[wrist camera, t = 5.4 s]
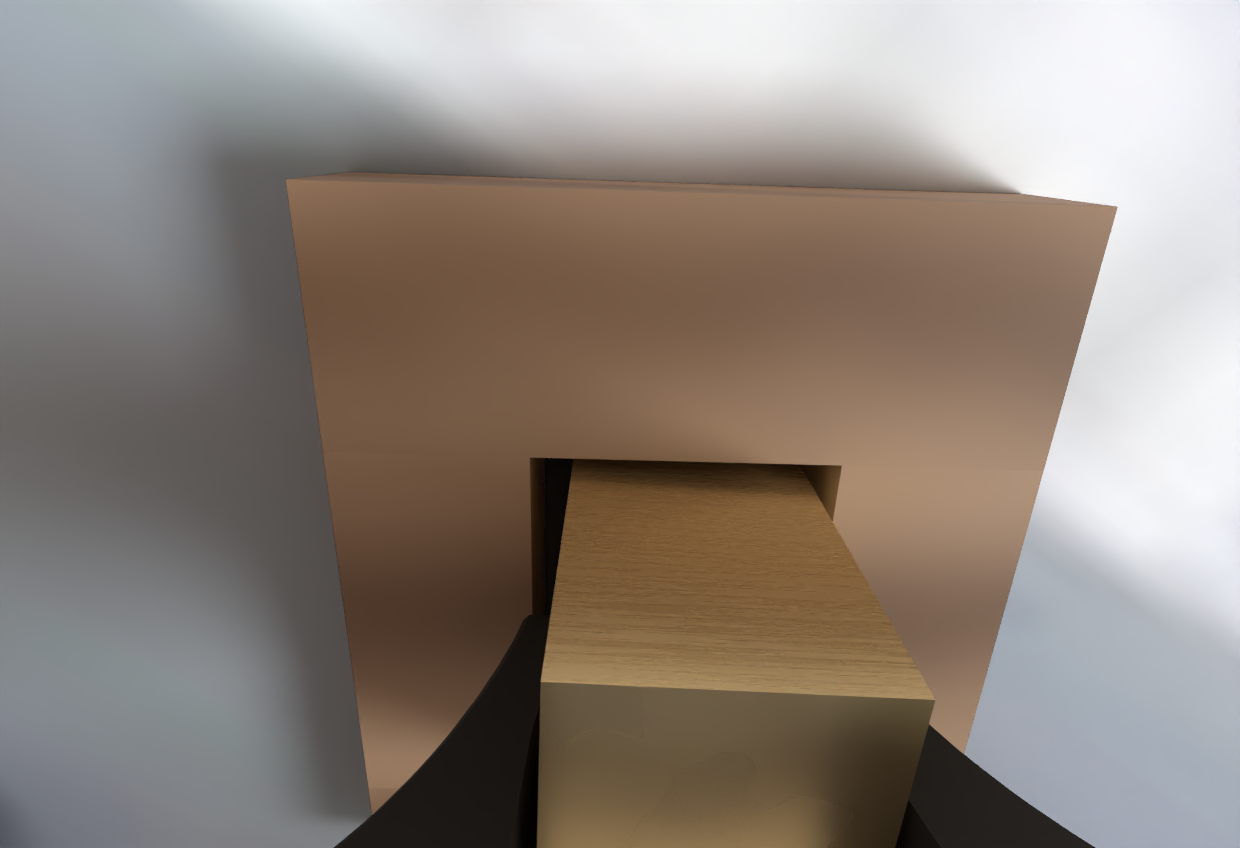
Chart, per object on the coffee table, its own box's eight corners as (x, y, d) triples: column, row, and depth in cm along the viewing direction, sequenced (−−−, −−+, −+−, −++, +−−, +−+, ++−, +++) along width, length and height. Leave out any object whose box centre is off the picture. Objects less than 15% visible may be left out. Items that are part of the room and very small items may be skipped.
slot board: (876, 834, 19) (913, 933, 16) (416, 826, 18) (387, 926, 16) (1025, 194, 13) (1117, 206, 10) (347, 171, 12) (285, 179, 10)
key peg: (784, 439, 14) (935, 699, 7) (744, 701, 16) (832, 1080, 9) (577, 428, 14) (541, 681, 7) (567, 693, 16) (531, 1070, 9)
